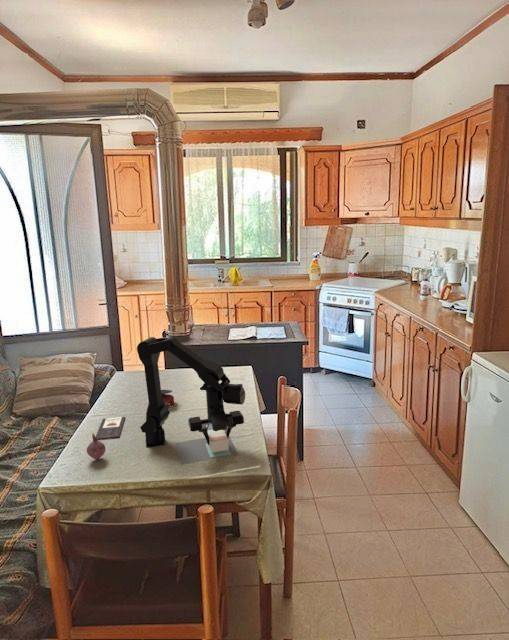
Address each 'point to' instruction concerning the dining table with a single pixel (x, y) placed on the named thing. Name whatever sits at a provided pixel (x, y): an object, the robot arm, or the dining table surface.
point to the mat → (201, 451)
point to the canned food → (167, 397)
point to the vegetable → (96, 448)
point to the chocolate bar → (110, 428)
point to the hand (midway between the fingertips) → (217, 443)
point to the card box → (218, 441)
